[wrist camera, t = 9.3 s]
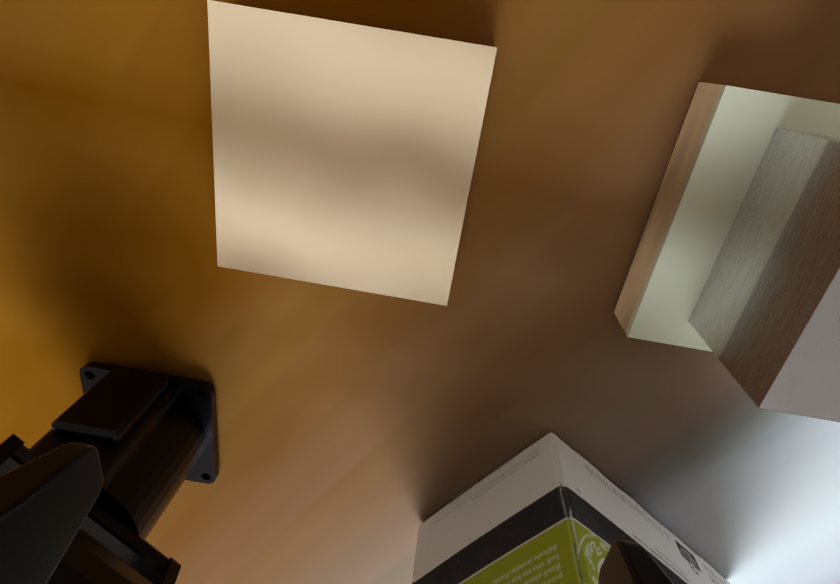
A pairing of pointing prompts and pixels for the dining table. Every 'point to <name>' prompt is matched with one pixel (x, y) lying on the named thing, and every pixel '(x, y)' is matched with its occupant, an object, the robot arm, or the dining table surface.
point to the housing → (782, 281)
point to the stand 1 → (342, 149)
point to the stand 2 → (705, 202)
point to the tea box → (544, 527)
